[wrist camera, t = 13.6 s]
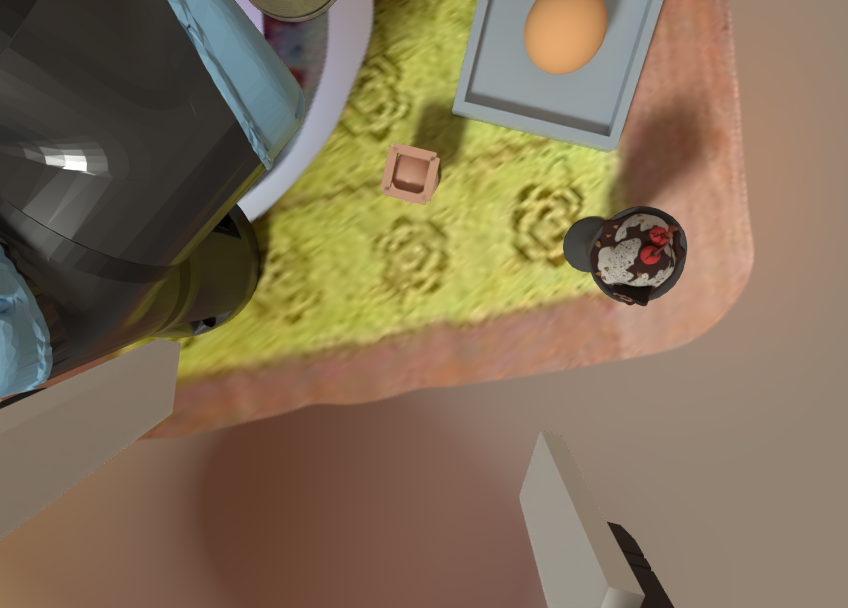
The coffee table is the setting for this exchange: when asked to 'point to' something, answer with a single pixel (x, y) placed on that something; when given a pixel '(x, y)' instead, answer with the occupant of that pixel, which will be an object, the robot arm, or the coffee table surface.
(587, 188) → the coffee table surface
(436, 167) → the stand
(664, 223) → the sundae
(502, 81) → the tray
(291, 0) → the coffee can
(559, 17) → the ball
